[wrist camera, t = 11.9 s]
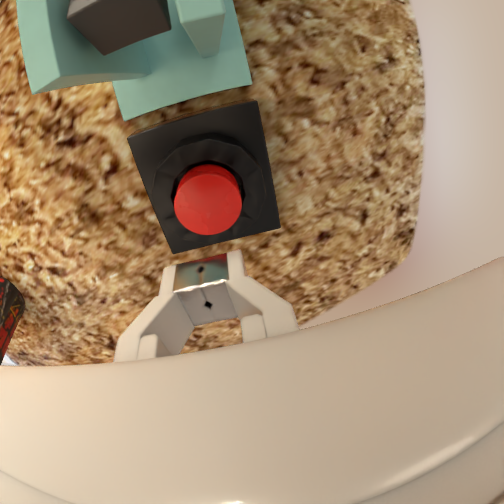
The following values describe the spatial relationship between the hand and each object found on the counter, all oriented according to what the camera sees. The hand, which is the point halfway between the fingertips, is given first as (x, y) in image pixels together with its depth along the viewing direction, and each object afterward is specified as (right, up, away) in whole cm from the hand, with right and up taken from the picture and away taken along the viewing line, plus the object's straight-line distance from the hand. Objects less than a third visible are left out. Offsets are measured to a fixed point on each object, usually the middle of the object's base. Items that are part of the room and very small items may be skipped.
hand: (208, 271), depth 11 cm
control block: (-1, +6, +8) cm, 10 cm away
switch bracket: (-3, +14, +2) cm, 14 cm away
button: (-1, +4, +5) cm, 7 cm away
